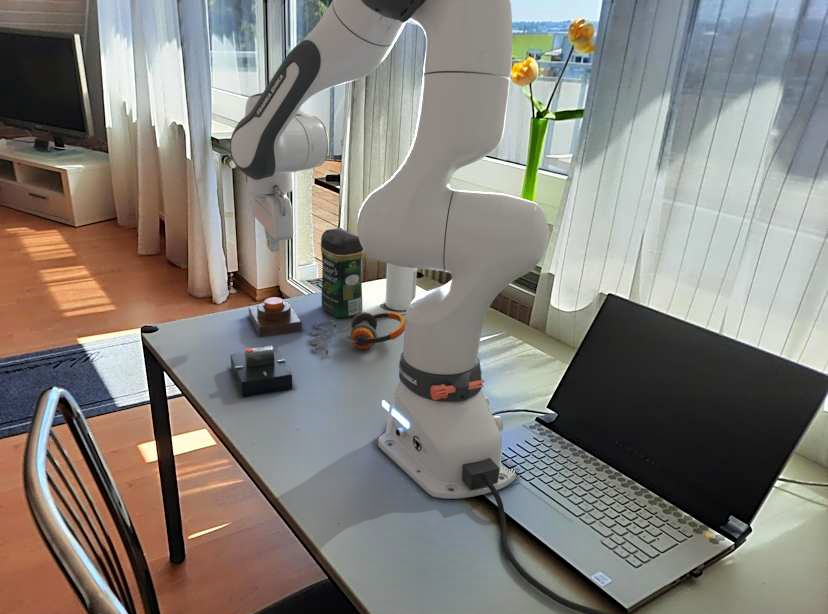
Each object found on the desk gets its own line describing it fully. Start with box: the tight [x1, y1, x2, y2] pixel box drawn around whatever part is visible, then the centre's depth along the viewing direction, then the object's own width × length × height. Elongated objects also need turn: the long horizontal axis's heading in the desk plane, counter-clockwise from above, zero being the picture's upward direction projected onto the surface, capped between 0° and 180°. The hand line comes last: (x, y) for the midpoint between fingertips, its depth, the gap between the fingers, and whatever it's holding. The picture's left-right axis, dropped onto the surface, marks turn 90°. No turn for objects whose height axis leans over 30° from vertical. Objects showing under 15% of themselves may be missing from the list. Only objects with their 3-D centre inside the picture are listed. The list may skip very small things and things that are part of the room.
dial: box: [244, 345, 275, 368], centre depth 117 cm, size 5×2×3 cm, turn 110°
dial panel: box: [230, 347, 293, 398], centre depth 119 cm, size 11×9×3 cm
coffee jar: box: [320, 227, 364, 319], centre depth 144 cm, size 10×8×19 cm
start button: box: [263, 296, 284, 311], centre depth 139 cm, size 4×4×2 cm
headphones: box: [310, 311, 405, 357], centre depth 133 cm, size 17×5×20 cm
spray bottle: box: [385, 263, 418, 311], centre depth 147 cm, size 7×7×18 cm
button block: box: [248, 300, 302, 337], centre depth 140 cm, size 11×9×4 cm
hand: (273, 249), depth 133 cm, fingers closed
